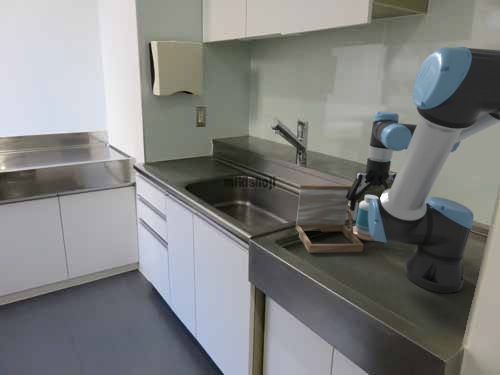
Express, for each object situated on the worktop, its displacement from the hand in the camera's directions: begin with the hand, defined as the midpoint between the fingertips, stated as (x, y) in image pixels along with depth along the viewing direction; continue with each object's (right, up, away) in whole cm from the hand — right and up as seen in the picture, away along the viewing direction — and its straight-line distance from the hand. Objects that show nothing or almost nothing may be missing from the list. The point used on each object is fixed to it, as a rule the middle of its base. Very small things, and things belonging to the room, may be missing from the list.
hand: (369, 218), depth 129 cm
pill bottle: (-1, -5, +2) cm, 6 cm away
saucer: (-1, -6, +2) cm, 6 cm away
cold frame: (-16, -7, -5) cm, 18 cm away
